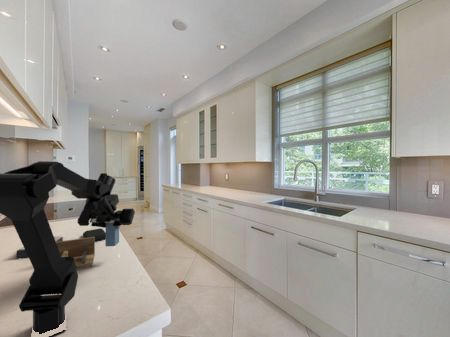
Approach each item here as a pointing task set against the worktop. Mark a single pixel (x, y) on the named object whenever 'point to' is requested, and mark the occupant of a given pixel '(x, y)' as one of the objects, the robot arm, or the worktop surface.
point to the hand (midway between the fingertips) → (114, 227)
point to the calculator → (22, 253)
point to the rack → (78, 250)
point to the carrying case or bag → (95, 234)
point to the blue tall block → (111, 234)
